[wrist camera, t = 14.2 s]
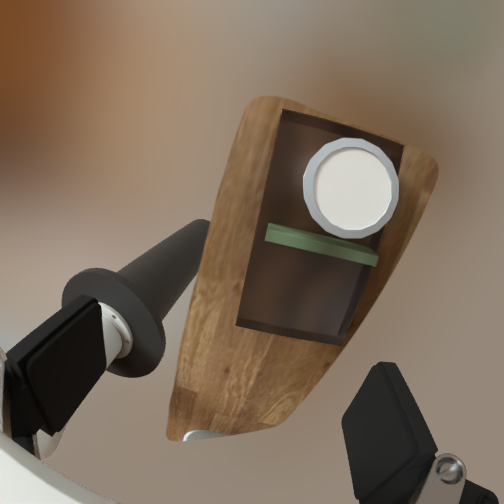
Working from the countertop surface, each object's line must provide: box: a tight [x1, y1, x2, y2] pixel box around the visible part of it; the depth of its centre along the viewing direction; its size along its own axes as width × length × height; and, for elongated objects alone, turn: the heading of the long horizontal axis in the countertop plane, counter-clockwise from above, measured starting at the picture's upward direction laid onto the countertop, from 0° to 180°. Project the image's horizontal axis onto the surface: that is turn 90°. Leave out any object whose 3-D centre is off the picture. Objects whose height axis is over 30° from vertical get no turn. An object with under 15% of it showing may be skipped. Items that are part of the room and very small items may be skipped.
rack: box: [235, 109, 404, 346], centre depth 29 cm, size 12×22×14 cm, turn 168°
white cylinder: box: [303, 138, 399, 238], centre depth 20 cm, size 7×7×7 cm
